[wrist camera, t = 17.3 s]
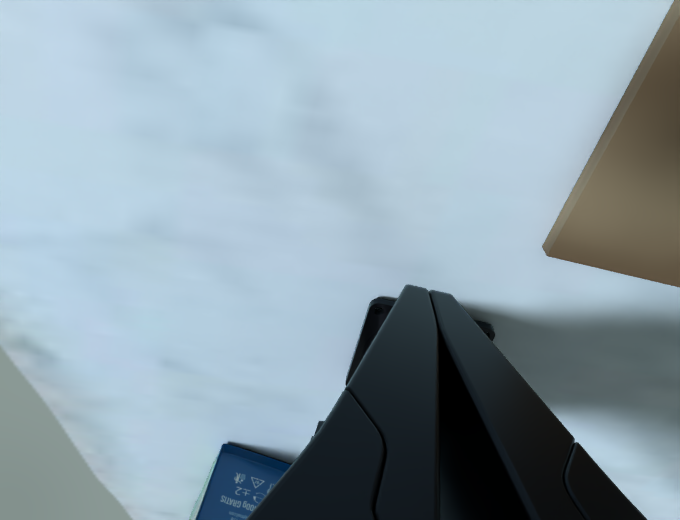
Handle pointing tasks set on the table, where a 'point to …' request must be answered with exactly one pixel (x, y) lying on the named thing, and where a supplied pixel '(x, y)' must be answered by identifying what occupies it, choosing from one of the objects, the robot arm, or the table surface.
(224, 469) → the blue food package
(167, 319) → the table surface
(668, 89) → the wooden board with blocks
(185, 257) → the table surface
